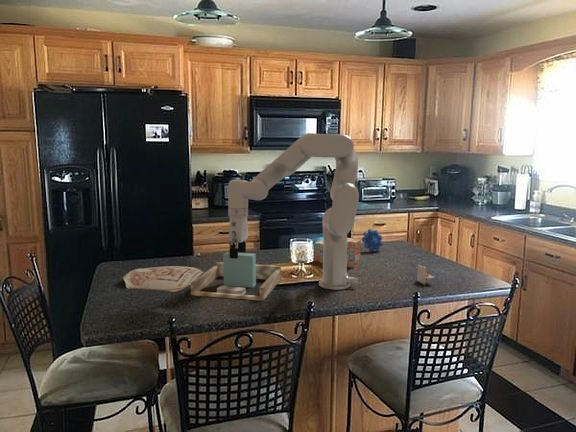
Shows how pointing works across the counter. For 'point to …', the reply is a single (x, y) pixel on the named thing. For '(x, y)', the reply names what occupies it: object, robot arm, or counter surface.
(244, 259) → the teal rectangular block
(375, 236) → the blue gear
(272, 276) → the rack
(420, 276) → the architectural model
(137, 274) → the poster
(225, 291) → the offcut upper
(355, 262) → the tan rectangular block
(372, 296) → the counter surface
